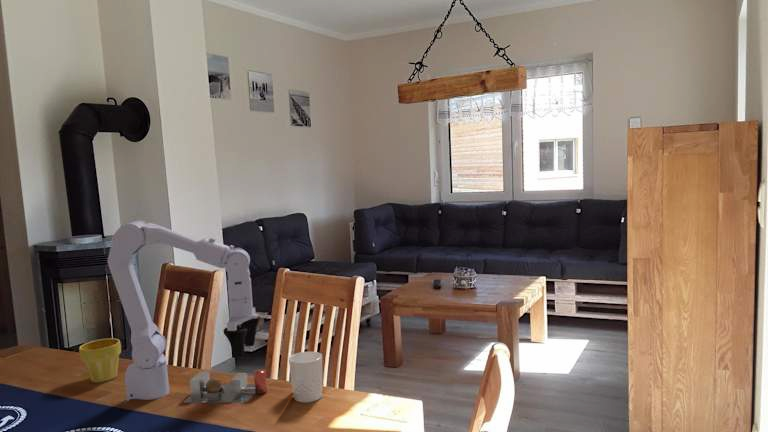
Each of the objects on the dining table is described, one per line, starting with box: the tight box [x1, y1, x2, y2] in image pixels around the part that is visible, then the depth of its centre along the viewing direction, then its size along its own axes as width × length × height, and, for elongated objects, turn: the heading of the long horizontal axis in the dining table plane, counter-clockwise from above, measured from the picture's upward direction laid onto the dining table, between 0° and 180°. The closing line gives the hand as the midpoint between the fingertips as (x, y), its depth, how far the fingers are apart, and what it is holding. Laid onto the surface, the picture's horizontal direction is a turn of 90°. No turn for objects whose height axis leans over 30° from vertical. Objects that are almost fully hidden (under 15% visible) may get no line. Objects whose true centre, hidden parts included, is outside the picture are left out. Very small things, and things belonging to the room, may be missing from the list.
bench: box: [182, 370, 257, 404], centre depth 147 cm, size 16×11×6 cm
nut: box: [206, 377, 222, 393], centre depth 148 cm, size 4×4×4 cm
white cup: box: [288, 351, 323, 404], centre depth 145 cm, size 8×8×10 cm
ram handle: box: [230, 368, 268, 395], centre depth 146 cm, size 8×5×5 cm, turn 83°
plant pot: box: [78, 337, 122, 383], centre depth 166 cm, size 10×10×10 cm
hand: (244, 350), depth 152 cm, fingers open, 7 cm apart
